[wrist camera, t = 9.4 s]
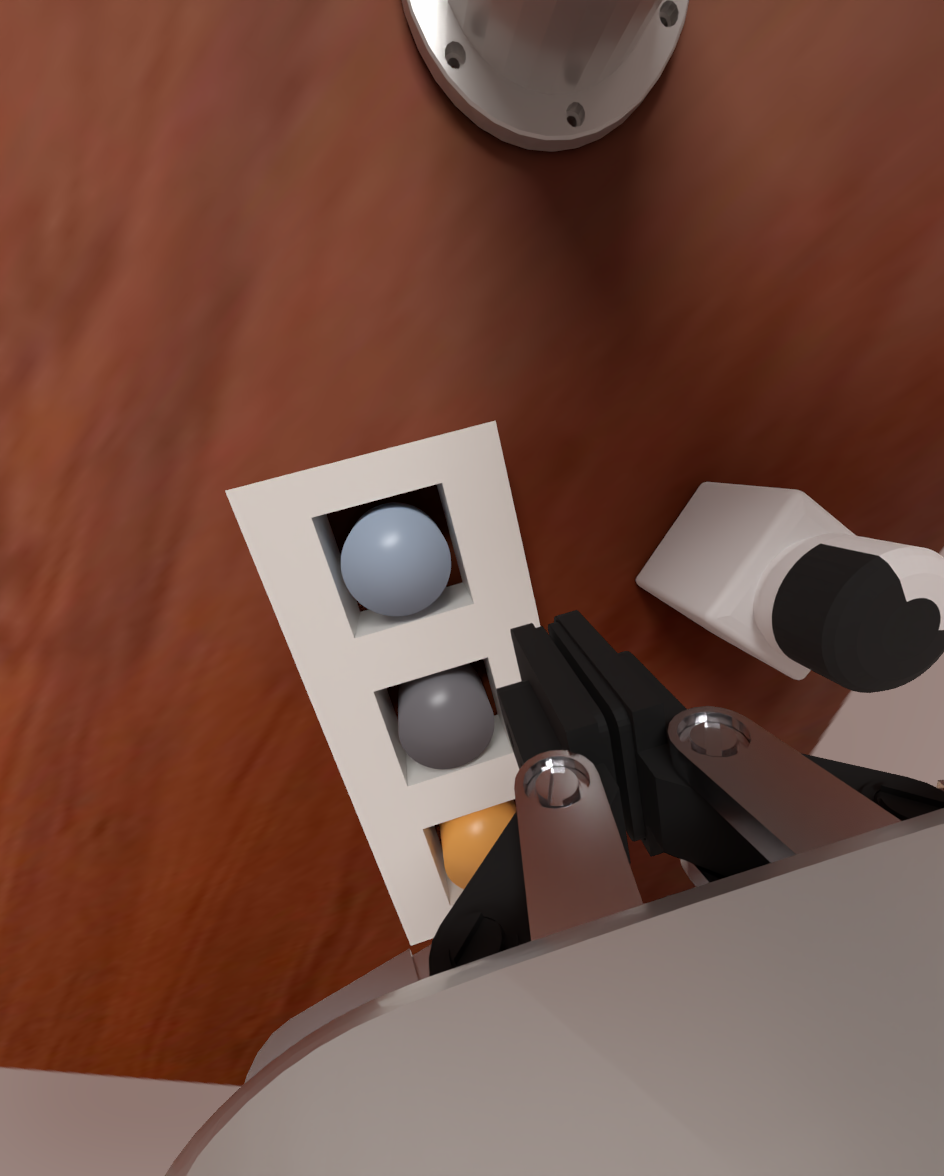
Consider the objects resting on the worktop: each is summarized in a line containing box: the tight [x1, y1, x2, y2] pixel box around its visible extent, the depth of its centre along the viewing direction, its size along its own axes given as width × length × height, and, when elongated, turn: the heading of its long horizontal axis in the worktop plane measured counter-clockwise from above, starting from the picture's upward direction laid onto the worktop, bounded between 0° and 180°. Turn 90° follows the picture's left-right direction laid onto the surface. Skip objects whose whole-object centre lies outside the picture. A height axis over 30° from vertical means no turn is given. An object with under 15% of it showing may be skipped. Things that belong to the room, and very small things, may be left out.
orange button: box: [439, 800, 517, 889], centre depth 28 cm, size 5×5×4 cm
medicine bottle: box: [636, 482, 944, 693], centre depth 23 cm, size 7×7×12 cm
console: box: [225, 421, 540, 946], centre depth 26 cm, size 28×12×4 cm, turn 14°
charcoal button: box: [398, 663, 495, 769], centre depth 26 cm, size 5×5×4 cm
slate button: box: [341, 502, 451, 616], centre depth 23 cm, size 5×5×4 cm
